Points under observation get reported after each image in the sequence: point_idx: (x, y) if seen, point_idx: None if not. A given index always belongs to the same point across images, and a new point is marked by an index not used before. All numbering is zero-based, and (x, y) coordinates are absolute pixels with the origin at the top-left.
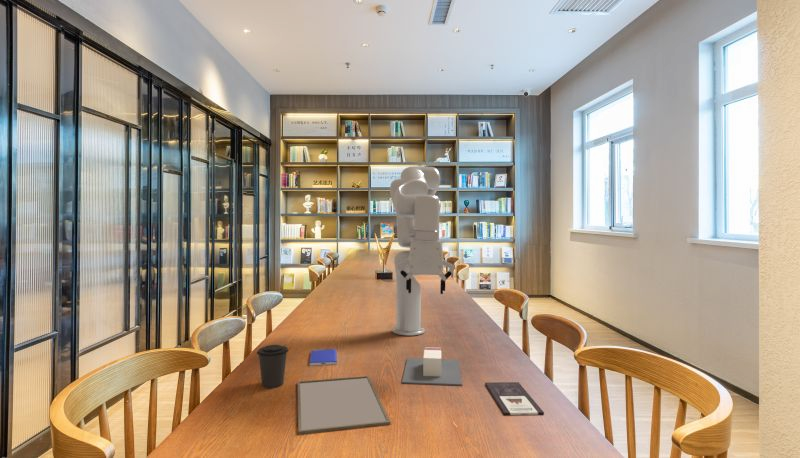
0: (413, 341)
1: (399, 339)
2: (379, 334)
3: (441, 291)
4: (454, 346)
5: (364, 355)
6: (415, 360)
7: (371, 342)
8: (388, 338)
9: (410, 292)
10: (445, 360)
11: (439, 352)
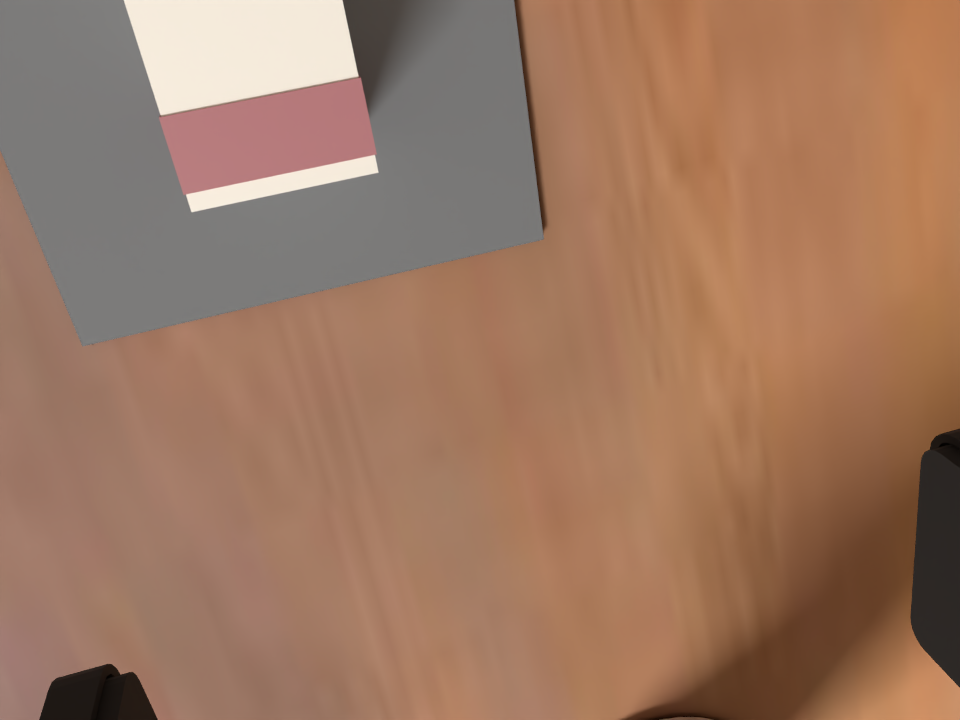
0: (576, 640)
1: (682, 640)
2: (832, 678)
3: (84, 717)
4: (238, 658)
5: (888, 215)
6: (461, 198)
7: (867, 510)
8: (761, 629)
9: (937, 445)
10: (197, 285)
11: (156, 21)
